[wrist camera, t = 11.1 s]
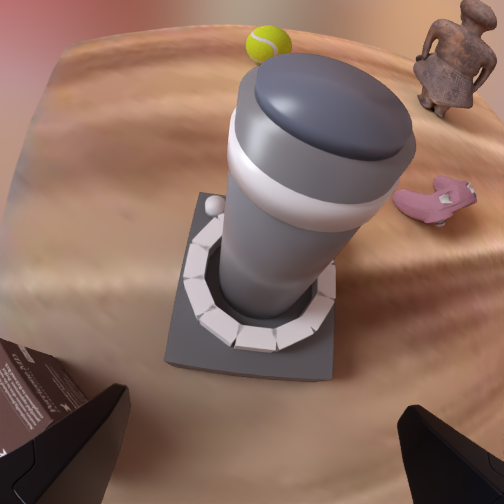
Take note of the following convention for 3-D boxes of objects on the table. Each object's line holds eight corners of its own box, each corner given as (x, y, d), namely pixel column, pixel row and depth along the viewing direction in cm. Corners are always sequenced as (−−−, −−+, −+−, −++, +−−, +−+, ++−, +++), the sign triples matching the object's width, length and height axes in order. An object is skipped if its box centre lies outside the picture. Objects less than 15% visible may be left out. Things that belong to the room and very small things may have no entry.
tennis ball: (236, 66, 37) (241, 27, 31) (252, 51, 40) (258, 17, 34) (280, 78, 36) (289, 38, 30) (291, 62, 39) (300, 27, 34)
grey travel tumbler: (317, 296, 19) (455, 145, 7) (243, 337, 17) (327, 192, 5) (273, 229, 20) (342, 46, 8) (201, 261, 19) (202, 55, 7)
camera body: (313, 382, 19) (340, 378, 15) (172, 365, 19) (160, 358, 15) (318, 236, 25) (337, 204, 21) (200, 218, 24) (199, 181, 20)
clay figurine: (455, 114, 43) (509, 23, 21) (460, 139, 38) (528, 35, 16) (400, 80, 44) (447, -20, 22) (399, 100, 40) (456, -18, 17)
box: (104, 415, 16) (55, 422, 10) (61, 460, 14) (7, 477, 7) (53, 354, 18) (-4, 332, 11) (14, 400, 15) (-46, 392, 8)
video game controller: (398, 235, 28) (450, 229, 22) (386, 193, 28) (437, 179, 21) (444, 212, 31) (488, 205, 25) (434, 177, 31) (477, 165, 24)
